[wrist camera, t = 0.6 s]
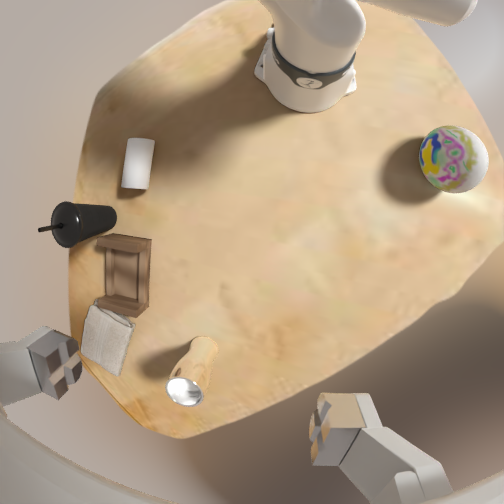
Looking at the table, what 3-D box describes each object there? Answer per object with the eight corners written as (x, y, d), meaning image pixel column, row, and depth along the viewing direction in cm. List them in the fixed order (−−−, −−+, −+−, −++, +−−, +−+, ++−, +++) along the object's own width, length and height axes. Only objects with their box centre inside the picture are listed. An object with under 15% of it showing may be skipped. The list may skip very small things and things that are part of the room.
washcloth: (138, 320, 56) (132, 326, 53) (122, 375, 60) (117, 381, 57) (95, 294, 56) (88, 299, 53) (85, 350, 60) (78, 356, 57)
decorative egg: (409, 127, 43) (450, 108, 29) (456, 138, 42) (501, 126, 28) (411, 189, 46) (455, 189, 31) (458, 195, 45) (505, 198, 30)
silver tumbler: (227, 354, 55) (213, 401, 40) (201, 366, 56) (181, 411, 42) (208, 328, 54) (186, 370, 40) (181, 342, 55) (155, 383, 41)
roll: (135, 141, 48) (123, 137, 43) (159, 142, 48) (148, 137, 43) (129, 187, 50) (116, 187, 45) (152, 189, 50) (141, 189, 45)
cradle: (113, 233, 52) (96, 237, 46) (151, 239, 52) (137, 244, 46) (112, 297, 55) (98, 307, 49) (148, 306, 54) (136, 318, 49)
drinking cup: (124, 199, 51) (56, 205, 31) (121, 238, 52) (56, 259, 33) (94, 197, 51) (25, 202, 31) (92, 233, 53) (26, 252, 33)
